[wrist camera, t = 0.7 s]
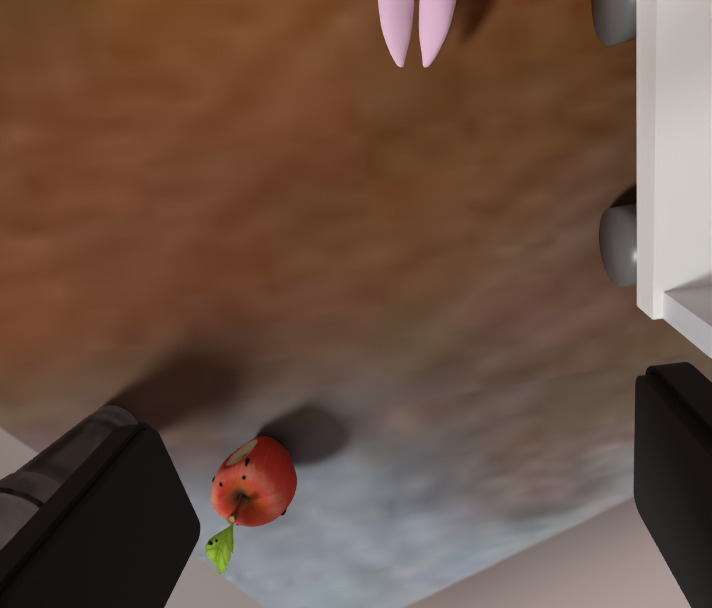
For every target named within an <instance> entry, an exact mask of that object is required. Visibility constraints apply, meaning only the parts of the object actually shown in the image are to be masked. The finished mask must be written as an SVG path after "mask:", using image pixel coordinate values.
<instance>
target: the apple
mask: <svg viewBox="0 0 712 608" xmlns="http://www.w3.org/2000/svg"><path fill="white" fill-rule="evenodd" d="M212 481H213V485H212V490H211V502H212V505H213V508H214V509H215V511H216V512H217V513H218V514H219V515H220V516H222V517H223V518H225V519H227V521H228V523H230V524H231V525H230V526H229V527H228V528H226V529H225V530H223V531H221V532H220V533H218V534H216V535H215V536H213V537H212V538H211V539H210V540H209V541H208V542H207V544H206V546H205V549H208V550H206V554H207V556H208V557H209V559H210V560H211V561H212V562H213V563H214V565H215V566H216V568H217V570H218V572H219V574H221V573H223V572H225V571H226V569H227V568H226V564H227V565H228V563H229V560H230V556H231V553H230V551H231V552H233V524H234V523H235V524H236V525H241V526H248V527H255V526H261V525H264V524H267V523H269V522H271V521H273V520H274V519H276V518H277V517H279V516H280V515H284V514H285V512H286V509H287V507H288V506H289V504H290V503H291V501H292V499H293V497H294V494H295V491H296V486H297V476H296V472H295V468H294V466H293V463H292V460H291V455H290V453H289V451H288V450H287V449H286V448H285V447H284V446H282V445H281V444H280V443H279V442H278V441H277V440H275V439H274V438H272V437H269V436H260V437H257V438H254V439H253V440H251V441H249V442H248V443H246V444H245V445H243V446H242V447H240V448H239V449H237V450H236V451H235V452H234V453H232V454H231V455H230V456H229V457H228V458H227V459H226V460H225V461H224V462H223V464H222V465H221V467H220V468H219V470H218V472H217V474H216V476H215V477H214V478H213V480H212Z"/></svg>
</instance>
